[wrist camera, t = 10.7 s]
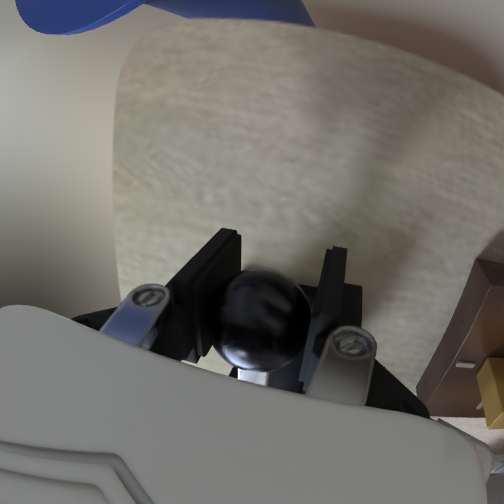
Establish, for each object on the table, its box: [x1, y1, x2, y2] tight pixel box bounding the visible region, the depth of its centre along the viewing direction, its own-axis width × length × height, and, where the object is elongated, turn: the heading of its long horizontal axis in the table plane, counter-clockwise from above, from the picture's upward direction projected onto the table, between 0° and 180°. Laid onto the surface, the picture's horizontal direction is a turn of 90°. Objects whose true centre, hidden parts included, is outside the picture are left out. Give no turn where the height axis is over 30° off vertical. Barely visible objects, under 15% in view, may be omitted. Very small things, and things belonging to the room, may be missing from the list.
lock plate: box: [416, 259, 504, 418], centre depth 16 cm, size 12×10×3 cm
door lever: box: [206, 268, 312, 387], centre depth 12 cm, size 13×3×3 cm, turn 179°
